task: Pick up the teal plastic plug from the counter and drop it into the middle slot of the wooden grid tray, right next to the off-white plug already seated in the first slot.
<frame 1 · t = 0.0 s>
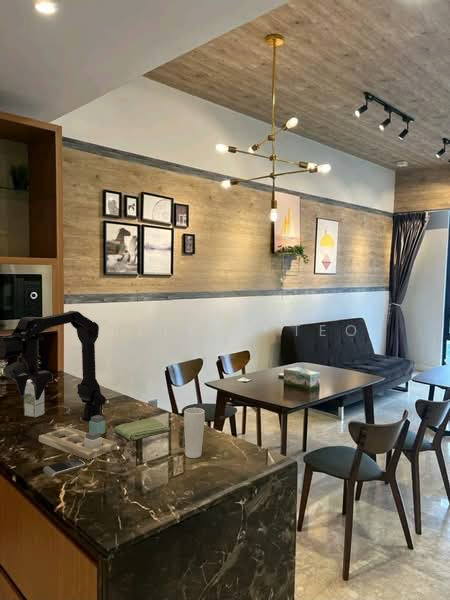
hand: (29, 397, 158), 15 cm above the worktop, tool pointing down, fingers open, 9 cm apart
syrup box: (34, 415, 185), on the worktop
washcloth: (142, 433, 169), on the worktop
cell phone: (64, 470, 136), on the worktop
drinking glass: (193, 456, 148), on the worktop
off-white plug: (92, 450, 150), resting in wooden grid tray
teal plug: (97, 432, 166), on the worktop
wooden grid tray: (77, 445, 154), on the worktop
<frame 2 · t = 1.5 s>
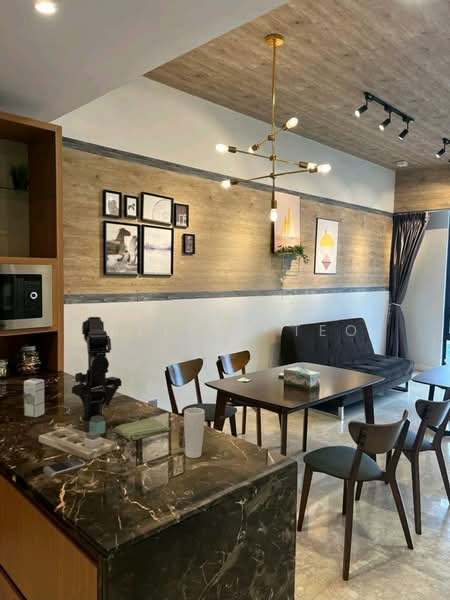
hand: (97, 408, 166), 9 cm above the worktop, tool pointing down, fingers open, 9 cm apart
nothing on the worktop moved.
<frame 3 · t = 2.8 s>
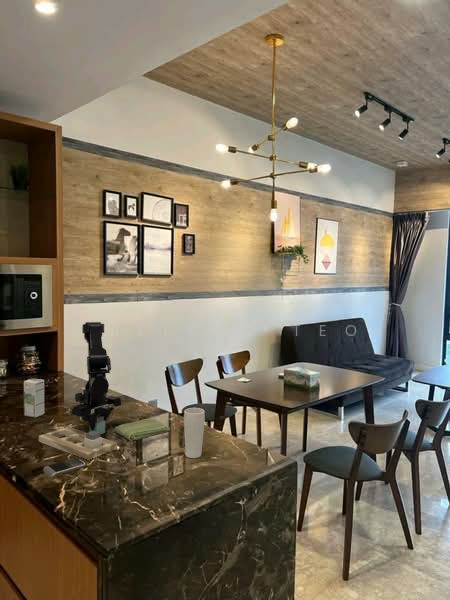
hand: (97, 428, 166), 2 cm above the worktop, tool pointing down, fingers closed on teal plug, 4 cm apart
teal plug: (97, 432, 166), on the worktop, touching gripper
everything else where it was.
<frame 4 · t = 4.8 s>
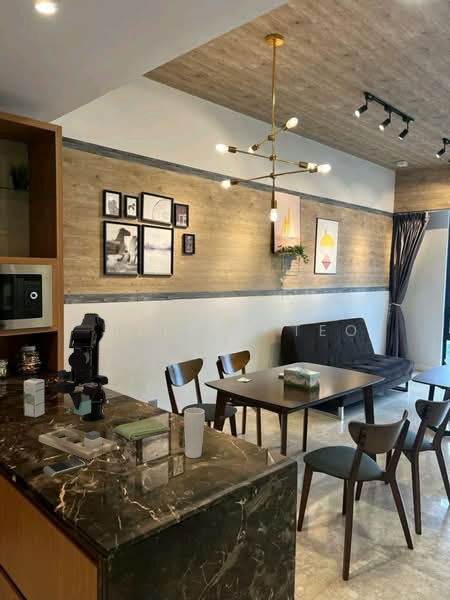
hand: (82, 408, 156), 12 cm above the worktop, tool pointing down, fingers closed on teal plug, 4 cm apart
teal plug: (82, 412, 156), point 11 cm above the worktop, touching gripper
everything else where it was.
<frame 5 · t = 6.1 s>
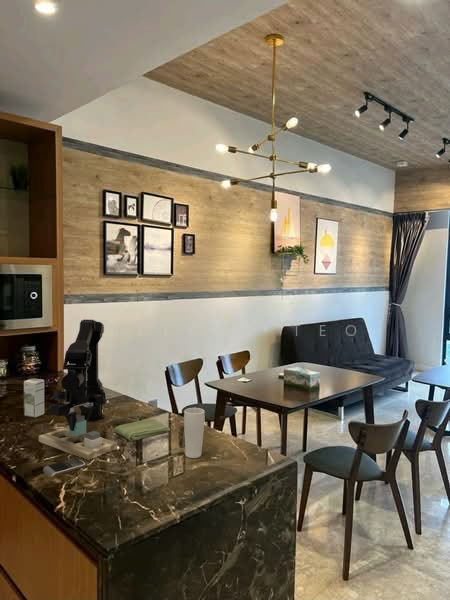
hand: (77, 428, 154), 6 cm above the worktop, tool pointing down, fingers closed on teal plug, 4 cm apart
teal plug: (77, 433, 154), point 4 cm above the worktop, touching gripper
everything else where it was.
when the fingers open (3 cm above the worktop, at t = 6.9 s): teal plug drops 2 cm, resting in wooden grid tray.
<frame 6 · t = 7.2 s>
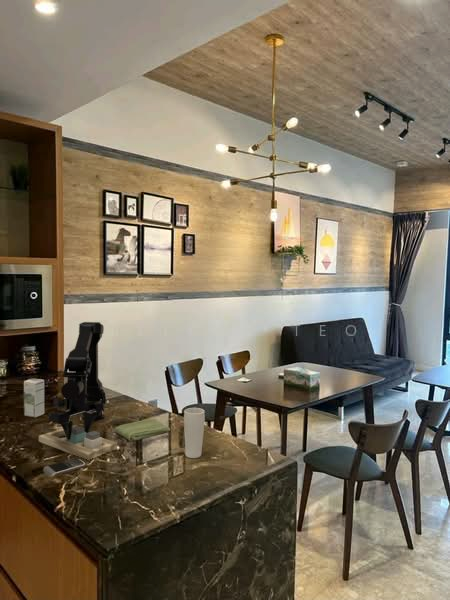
hand: (77, 436, 154), 3 cm above the worktop, tool pointing down, fingers open, 7 cm apart
teal plug: (77, 445, 154), resting in wooden grid tray
everything else where it was.
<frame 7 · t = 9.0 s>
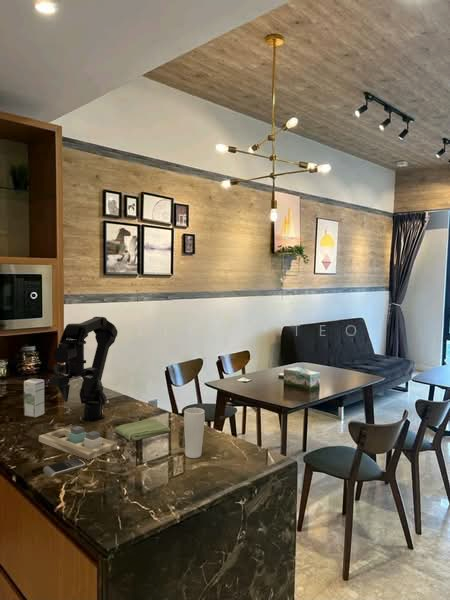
hand: (76, 398, 168), 12 cm above the worktop, tool pointing down, fingers open, 9 cm apart
nothing on the worktop moved.
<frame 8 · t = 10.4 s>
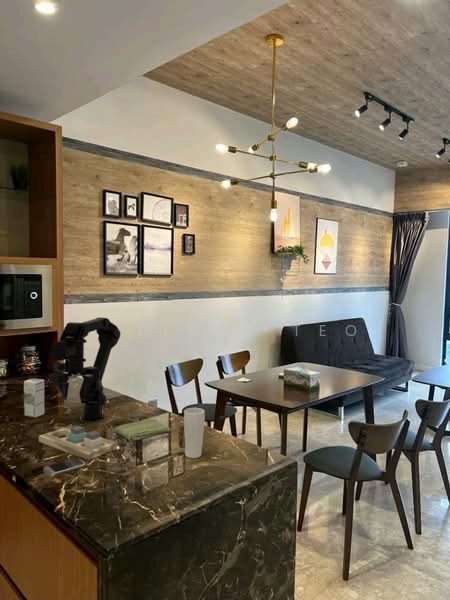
hand: (75, 397, 169), 12 cm above the worktop, tool pointing down, fingers open, 9 cm apart
nothing on the worktop moved.
at the end: teal plug 0.0 cm off-centre on the wooden grid tray, point 0.0 cm above the wooden grid tray's base; teal plug tilted 0°; off-white plug moved 0.1 cm from its start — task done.
